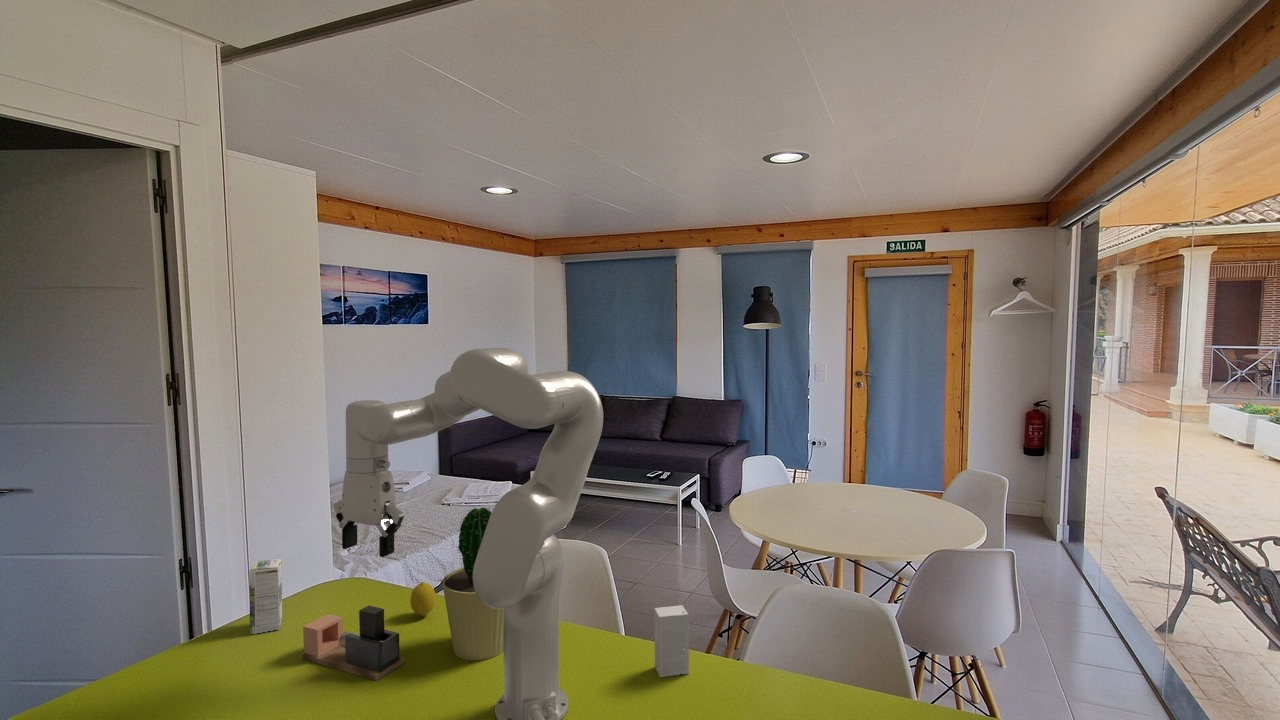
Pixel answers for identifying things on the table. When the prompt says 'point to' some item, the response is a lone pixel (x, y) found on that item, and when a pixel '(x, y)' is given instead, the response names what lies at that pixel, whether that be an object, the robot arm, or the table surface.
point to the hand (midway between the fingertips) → (368, 550)
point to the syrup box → (265, 596)
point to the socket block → (322, 635)
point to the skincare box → (671, 640)
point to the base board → (338, 661)
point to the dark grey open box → (372, 651)
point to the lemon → (423, 599)
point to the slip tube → (368, 625)
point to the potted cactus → (471, 598)
